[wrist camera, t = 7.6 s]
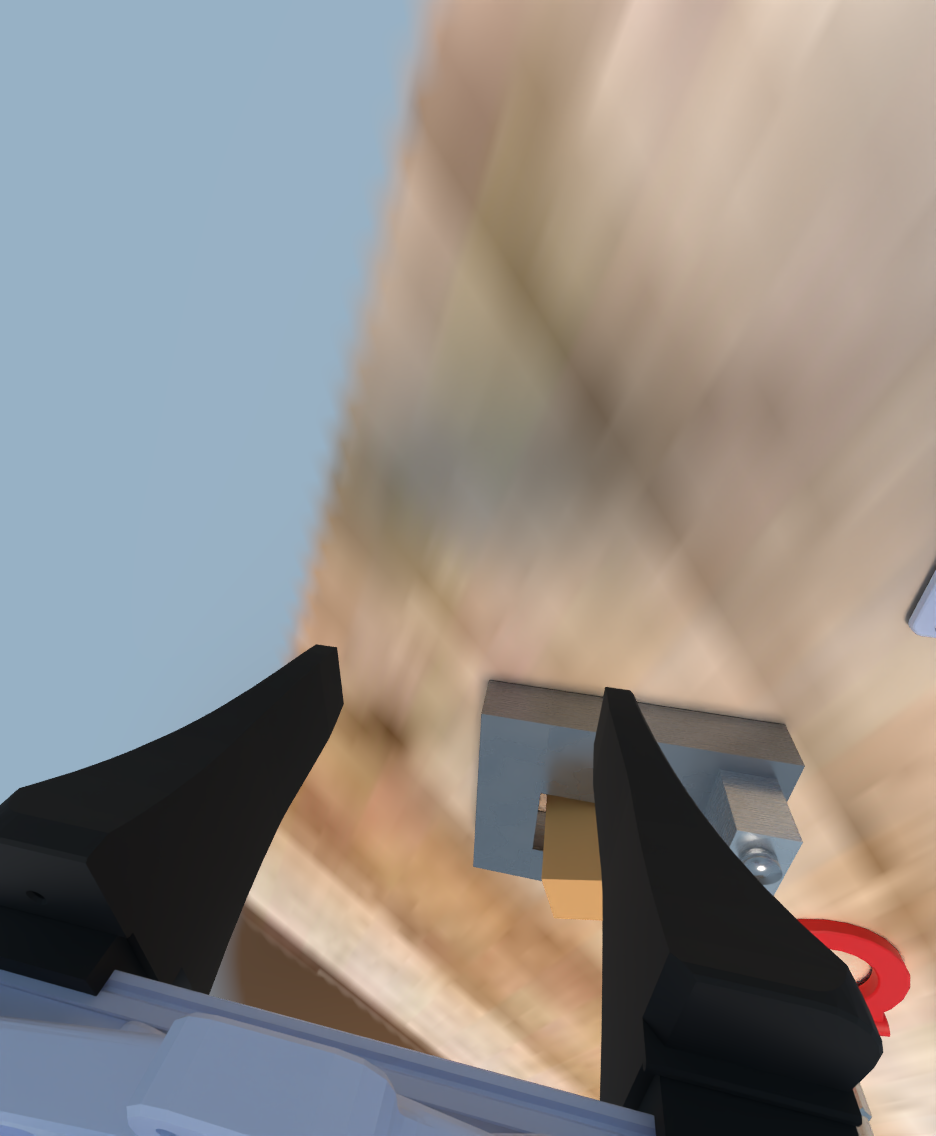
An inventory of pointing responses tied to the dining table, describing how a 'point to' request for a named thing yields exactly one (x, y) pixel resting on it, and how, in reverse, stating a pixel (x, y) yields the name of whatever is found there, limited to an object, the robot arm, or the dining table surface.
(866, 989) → the tow hook
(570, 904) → the tan rectangular block
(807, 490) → the dining table surface
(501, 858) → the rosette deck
